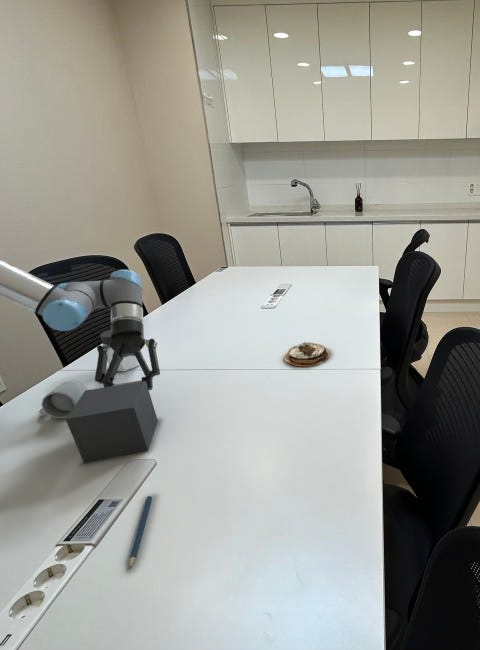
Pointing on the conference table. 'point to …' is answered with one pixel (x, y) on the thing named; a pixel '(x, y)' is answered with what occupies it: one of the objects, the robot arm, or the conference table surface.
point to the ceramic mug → (62, 399)
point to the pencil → (140, 530)
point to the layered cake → (307, 354)
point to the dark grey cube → (113, 421)
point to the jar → (127, 361)
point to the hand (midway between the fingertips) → (129, 405)
